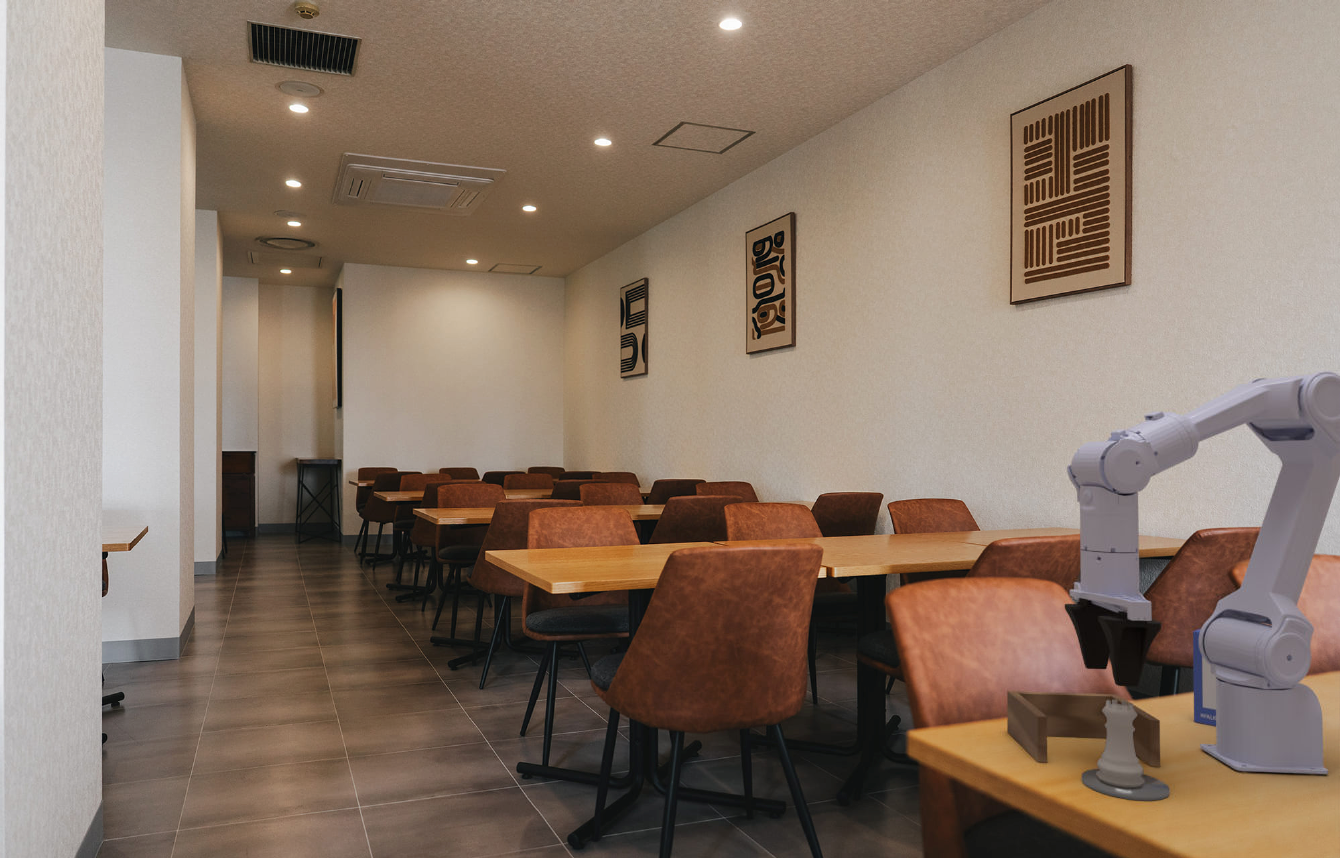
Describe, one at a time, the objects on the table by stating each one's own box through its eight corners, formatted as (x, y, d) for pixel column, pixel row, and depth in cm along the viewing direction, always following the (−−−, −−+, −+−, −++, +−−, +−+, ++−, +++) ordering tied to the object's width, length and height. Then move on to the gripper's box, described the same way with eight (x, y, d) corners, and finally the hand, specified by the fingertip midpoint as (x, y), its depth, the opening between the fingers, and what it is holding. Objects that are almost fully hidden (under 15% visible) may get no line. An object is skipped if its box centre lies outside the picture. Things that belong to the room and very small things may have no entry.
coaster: (1147, 773, 94) (1147, 770, 94) (1185, 802, 86) (1185, 798, 86) (1069, 770, 95) (1069, 767, 95) (1100, 799, 87) (1100, 794, 87)
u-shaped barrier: (1117, 736, 107) (1116, 694, 107) (1160, 766, 96) (1159, 720, 96) (1007, 732, 108) (1007, 691, 108) (1037, 762, 97) (1037, 716, 97)
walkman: (1193, 722, 114) (1192, 628, 114) (1200, 718, 116) (1199, 626, 116) (1265, 736, 108) (1264, 637, 108) (1271, 731, 110) (1269, 635, 110)
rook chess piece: (1149, 792, 88) (1148, 710, 88) (1100, 787, 89) (1100, 706, 89) (1139, 776, 92) (1138, 699, 92) (1092, 772, 93) (1091, 695, 93)
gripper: (1047, 544, 103) (1048, 661, 103) (1100, 557, 89) (1101, 693, 88) (1108, 545, 103) (1110, 662, 102) (1172, 558, 88) (1174, 694, 88)
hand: (1110, 676), depth 95 cm, fingers open, 7 cm apart
